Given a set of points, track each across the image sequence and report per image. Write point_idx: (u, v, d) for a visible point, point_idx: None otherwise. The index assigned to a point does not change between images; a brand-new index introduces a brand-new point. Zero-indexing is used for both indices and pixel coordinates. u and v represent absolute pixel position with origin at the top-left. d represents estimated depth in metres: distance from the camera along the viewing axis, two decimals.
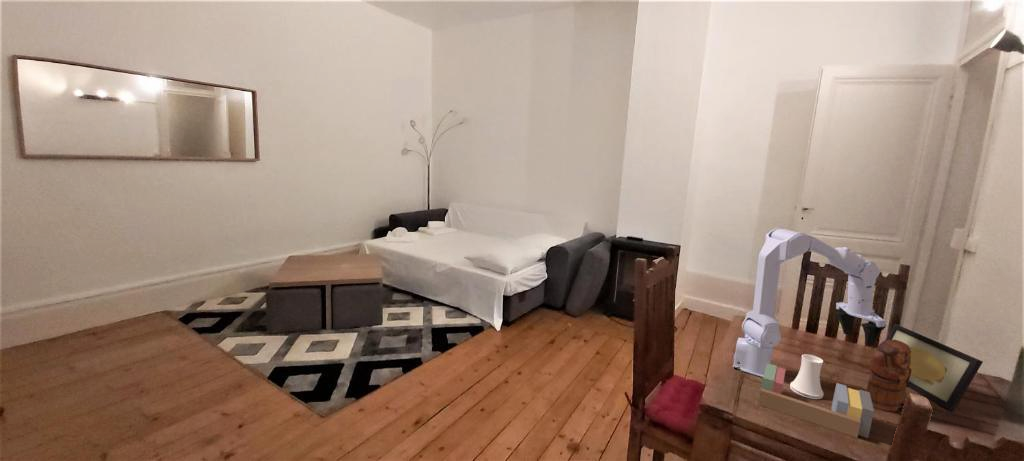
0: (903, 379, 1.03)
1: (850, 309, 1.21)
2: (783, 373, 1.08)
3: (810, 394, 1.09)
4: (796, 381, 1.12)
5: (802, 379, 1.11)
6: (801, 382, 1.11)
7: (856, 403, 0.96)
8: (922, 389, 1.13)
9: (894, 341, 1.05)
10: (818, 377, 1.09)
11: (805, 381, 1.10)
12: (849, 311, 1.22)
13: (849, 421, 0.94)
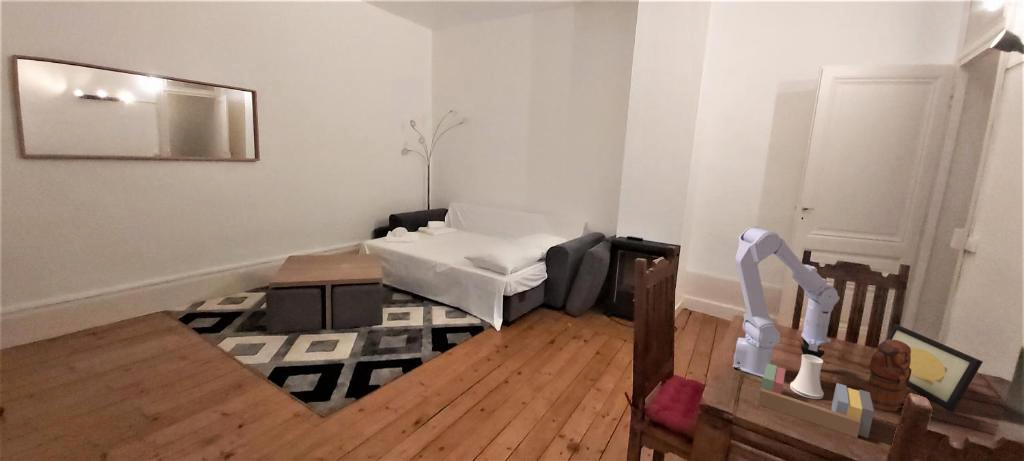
0: (903, 379, 1.03)
1: None
2: (783, 373, 1.08)
3: (810, 394, 1.09)
4: (796, 381, 1.12)
5: (802, 379, 1.11)
6: (801, 382, 1.11)
7: (856, 403, 0.96)
8: (922, 389, 1.13)
9: (894, 341, 1.05)
10: (818, 377, 1.09)
11: (805, 381, 1.10)
12: (802, 332, 1.22)
13: (849, 421, 0.94)
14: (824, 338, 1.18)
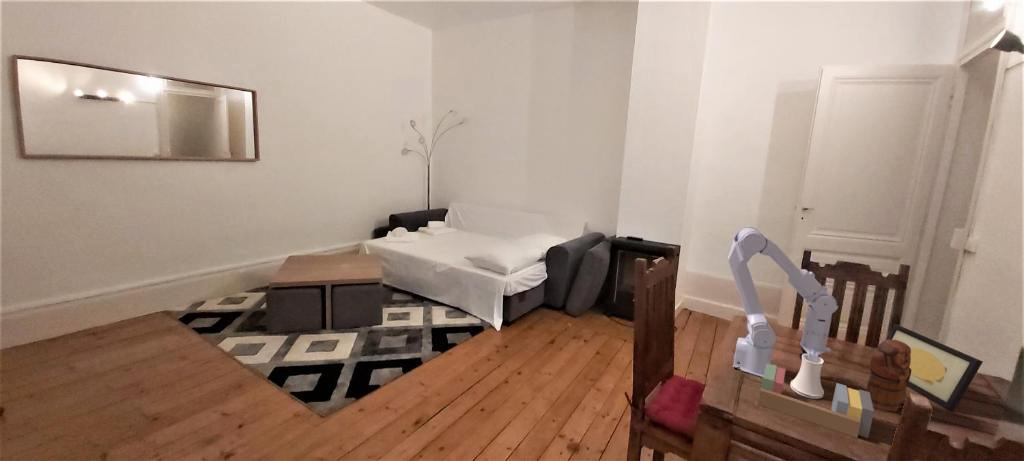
0: (903, 379, 1.03)
1: None
2: (783, 373, 1.08)
3: (810, 394, 1.09)
4: (796, 381, 1.12)
5: (802, 379, 1.11)
6: (801, 382, 1.11)
7: (856, 403, 0.96)
8: (922, 389, 1.13)
9: (894, 341, 1.05)
10: (818, 377, 1.09)
11: (806, 381, 1.10)
12: (801, 341, 1.18)
13: (849, 421, 0.94)
14: (824, 347, 1.14)
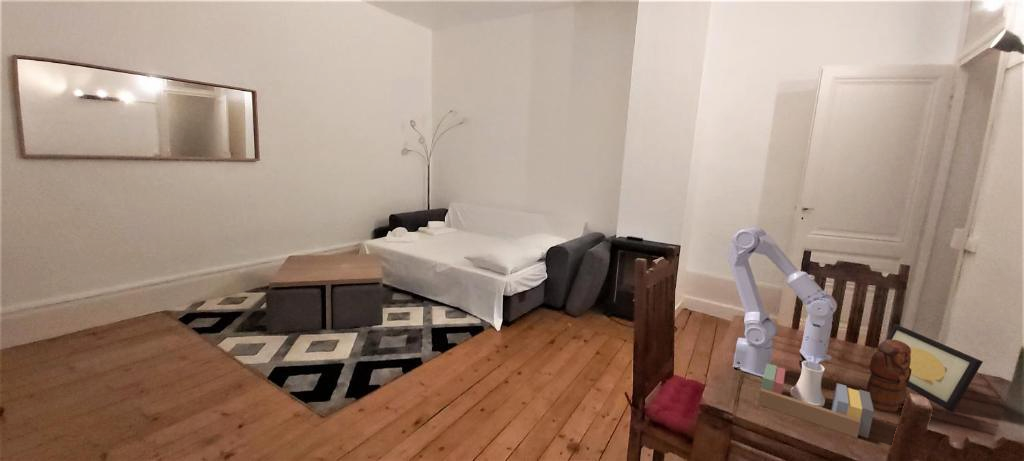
0: (903, 379, 1.03)
1: (801, 346, 1.13)
2: (783, 373, 1.08)
3: (811, 403, 1.05)
4: (796, 389, 1.08)
5: (802, 387, 1.06)
6: (801, 390, 1.07)
7: (856, 403, 0.96)
8: (922, 389, 1.13)
9: (894, 341, 1.05)
10: (819, 385, 1.05)
11: (806, 389, 1.06)
12: (800, 348, 1.14)
13: (849, 421, 0.94)
14: (824, 355, 1.09)
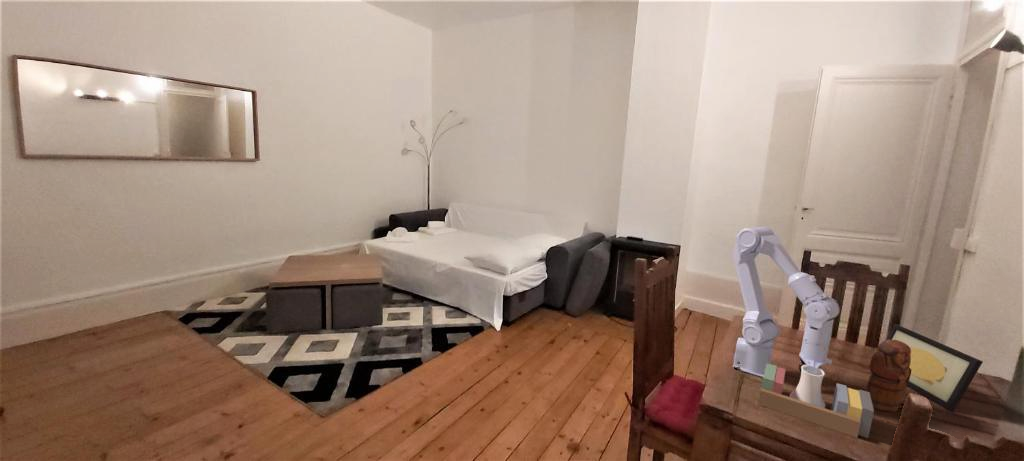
0: (903, 379, 1.03)
1: (801, 349, 1.11)
2: (783, 373, 1.08)
3: None
4: (795, 394, 1.06)
5: (802, 392, 1.04)
6: (800, 395, 1.04)
7: (856, 403, 0.96)
8: (922, 389, 1.13)
9: (894, 341, 1.05)
10: (819, 390, 1.02)
11: (806, 394, 1.03)
12: (800, 352, 1.11)
13: (849, 421, 0.94)
14: (824, 359, 1.07)
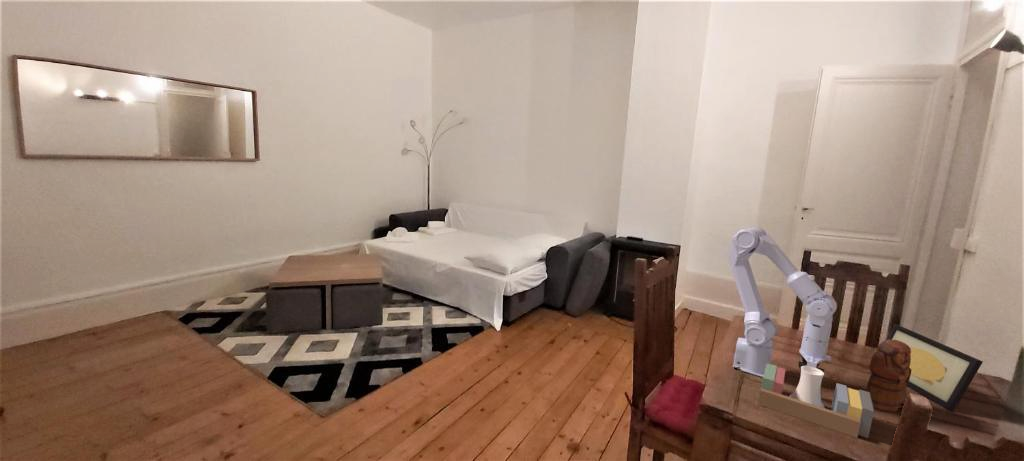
0: (903, 379, 1.03)
1: (801, 346, 1.13)
2: (783, 373, 1.08)
3: None
4: (795, 395, 1.06)
5: (802, 393, 1.04)
6: (800, 396, 1.04)
7: (856, 403, 0.96)
8: (922, 389, 1.13)
9: (894, 341, 1.05)
10: (819, 390, 1.03)
11: (805, 395, 1.03)
12: (800, 348, 1.14)
13: (849, 421, 0.94)
14: (824, 355, 1.09)
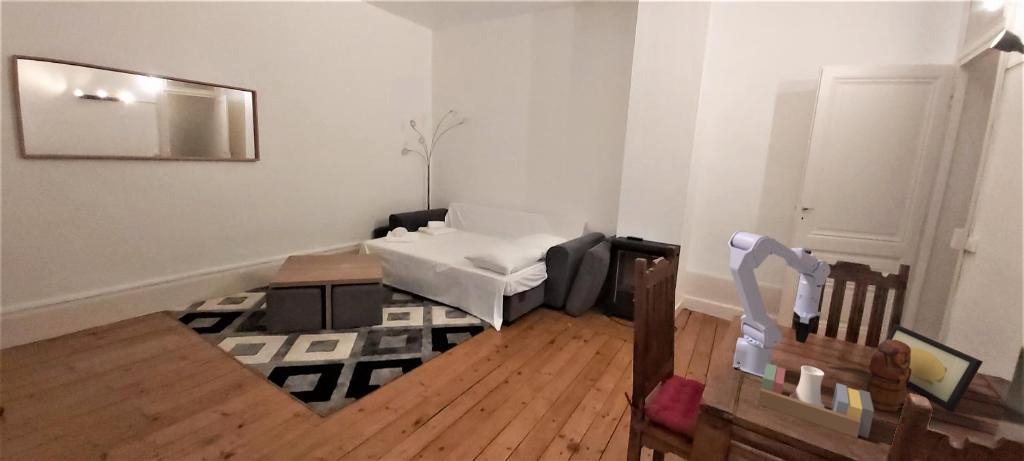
0: (903, 379, 1.03)
1: (795, 304, 1.25)
2: (783, 373, 1.08)
3: None
4: (795, 395, 1.06)
5: (802, 393, 1.04)
6: (800, 396, 1.04)
7: (856, 403, 0.96)
8: (922, 389, 1.13)
9: (894, 341, 1.05)
10: (819, 390, 1.03)
11: (805, 395, 1.04)
12: None
13: (849, 421, 0.94)
14: (815, 311, 1.21)
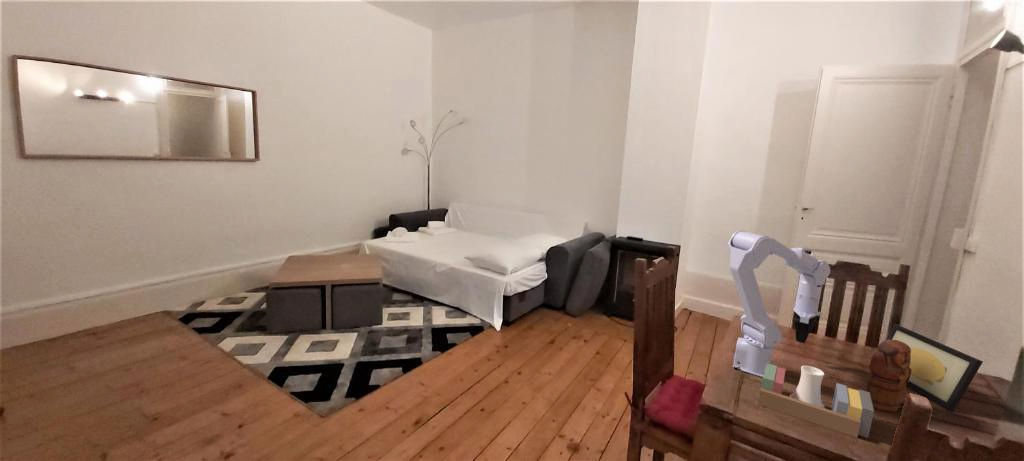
0: (903, 379, 1.03)
1: (795, 304, 1.25)
2: (783, 373, 1.08)
3: None
4: (795, 395, 1.06)
5: (802, 393, 1.04)
6: (800, 396, 1.04)
7: (856, 403, 0.96)
8: (922, 389, 1.13)
9: (894, 341, 1.05)
10: (819, 390, 1.03)
11: (805, 394, 1.04)
12: None
13: (849, 421, 0.94)
14: (815, 311, 1.21)
